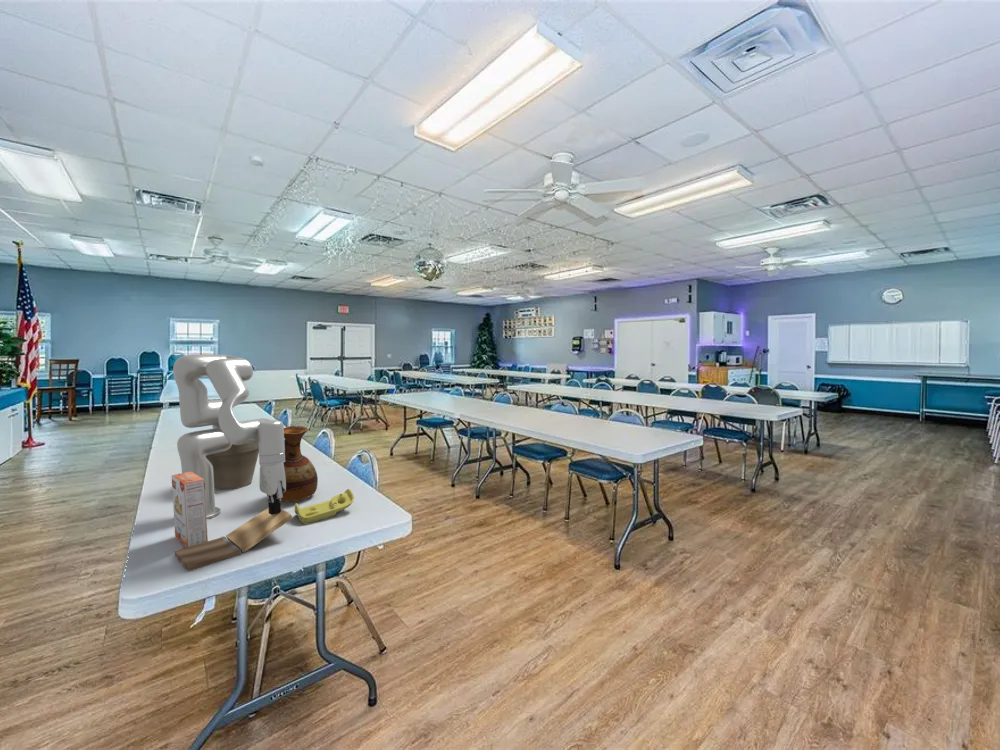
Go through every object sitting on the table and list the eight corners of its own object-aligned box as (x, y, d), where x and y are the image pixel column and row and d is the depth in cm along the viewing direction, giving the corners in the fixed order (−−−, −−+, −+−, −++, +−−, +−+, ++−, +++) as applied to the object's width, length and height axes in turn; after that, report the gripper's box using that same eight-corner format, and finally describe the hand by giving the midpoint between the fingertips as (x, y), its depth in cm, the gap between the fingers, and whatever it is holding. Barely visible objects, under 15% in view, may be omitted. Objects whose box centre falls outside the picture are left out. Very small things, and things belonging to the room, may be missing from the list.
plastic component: (301, 519, 149) (294, 500, 155) (301, 534, 152) (294, 515, 159) (357, 502, 161) (348, 485, 168) (356, 516, 164) (347, 499, 171)
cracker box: (173, 537, 140) (170, 474, 139) (195, 531, 144) (192, 470, 143) (185, 550, 131) (182, 483, 130) (208, 543, 135) (205, 478, 134)
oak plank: (243, 552, 128) (241, 548, 128) (227, 539, 138) (225, 535, 137) (292, 517, 139) (290, 514, 139) (275, 507, 148) (273, 504, 148)
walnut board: (175, 555, 127) (174, 550, 127) (224, 541, 137) (224, 536, 137) (187, 571, 118) (187, 565, 118) (240, 554, 128) (240, 549, 128)
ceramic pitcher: (269, 510, 164) (267, 433, 162) (262, 496, 180) (259, 425, 178) (323, 499, 175) (321, 427, 173) (311, 487, 191) (310, 421, 190)
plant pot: (228, 496, 179) (226, 445, 178) (185, 491, 186) (183, 442, 185) (276, 479, 202) (274, 434, 201) (236, 475, 210) (234, 431, 209)
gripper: (251, 457, 142) (254, 511, 143) (269, 464, 132) (272, 522, 133) (274, 453, 148) (277, 505, 149) (293, 459, 138) (296, 514, 139)
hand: (274, 513), depth 141 cm, fingers closed
